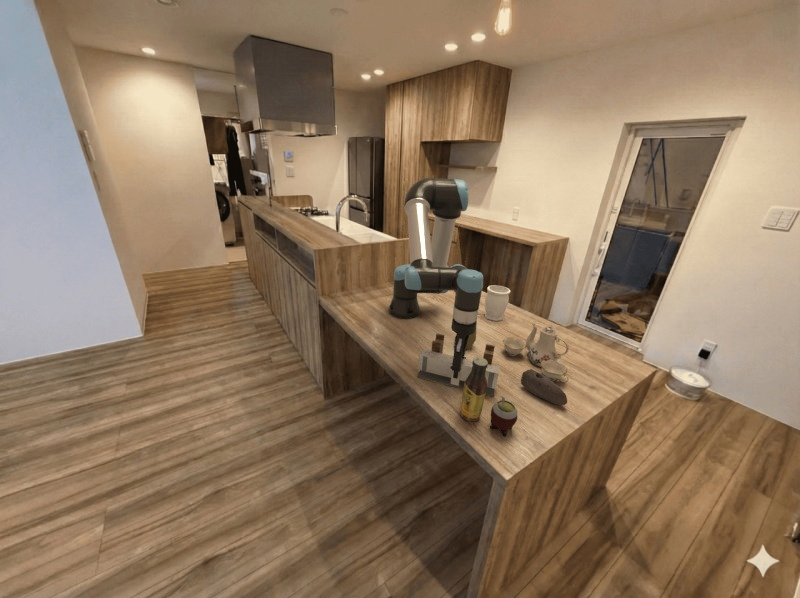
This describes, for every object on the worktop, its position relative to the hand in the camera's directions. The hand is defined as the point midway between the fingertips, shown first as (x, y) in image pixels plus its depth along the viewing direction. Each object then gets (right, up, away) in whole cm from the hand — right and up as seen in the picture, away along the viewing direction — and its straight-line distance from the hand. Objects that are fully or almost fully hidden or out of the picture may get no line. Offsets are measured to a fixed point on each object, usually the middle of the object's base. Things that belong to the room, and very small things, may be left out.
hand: (455, 379), depth 110 cm
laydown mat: (0, -1, 0) cm, 1 cm away
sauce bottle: (+2, -7, -14) cm, 16 cm away
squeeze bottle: (+7, +8, +22) cm, 25 cm away
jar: (+27, +18, +48) cm, 58 cm away
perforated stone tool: (+28, -5, -4) cm, 28 cm away
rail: (0, +2, -1) cm, 2 cm away
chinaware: (+33, +3, +13) cm, 36 cm away
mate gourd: (+10, -10, -18) cm, 23 cm away
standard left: (-6, +4, +10) cm, 12 cm away
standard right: (+11, +1, +5) cm, 12 cm away
